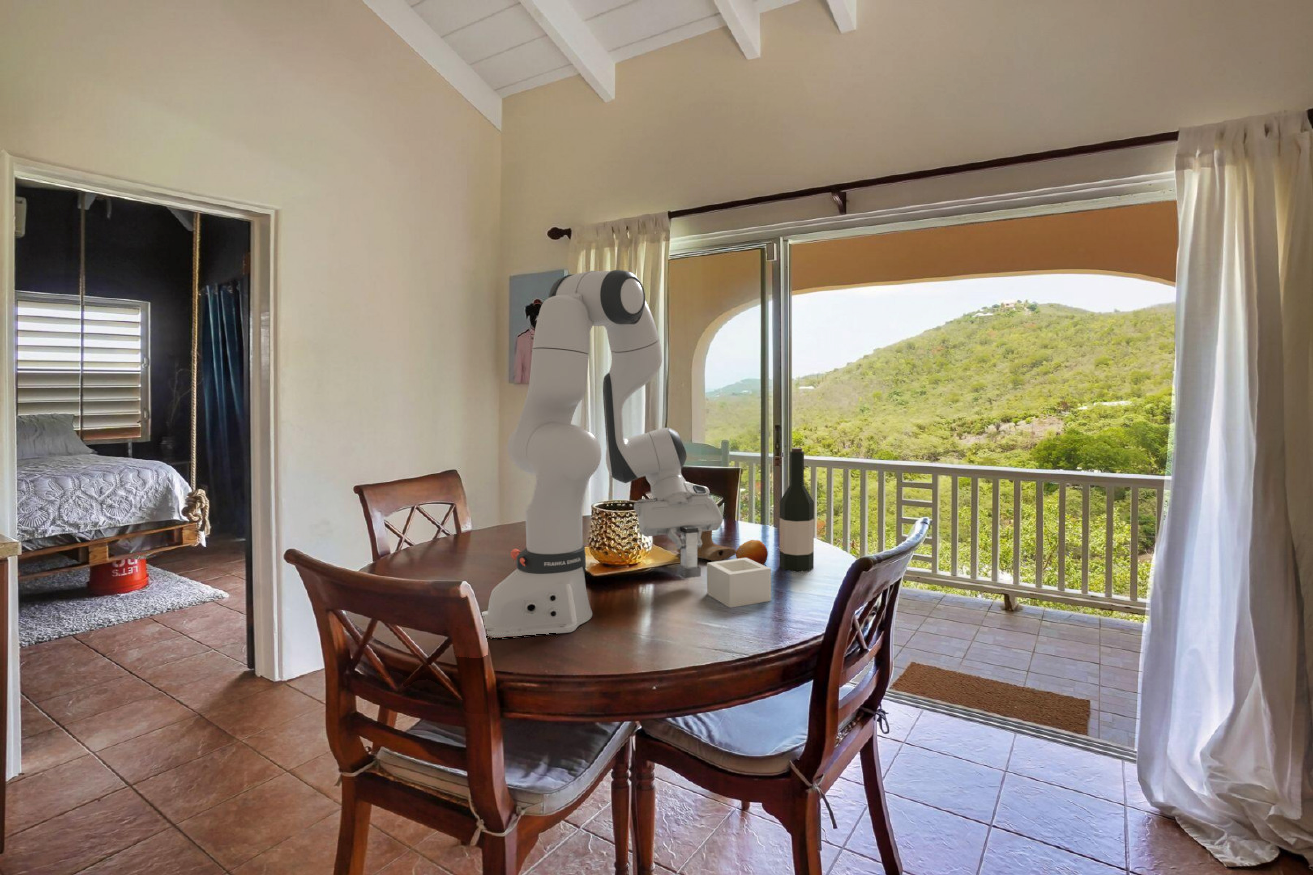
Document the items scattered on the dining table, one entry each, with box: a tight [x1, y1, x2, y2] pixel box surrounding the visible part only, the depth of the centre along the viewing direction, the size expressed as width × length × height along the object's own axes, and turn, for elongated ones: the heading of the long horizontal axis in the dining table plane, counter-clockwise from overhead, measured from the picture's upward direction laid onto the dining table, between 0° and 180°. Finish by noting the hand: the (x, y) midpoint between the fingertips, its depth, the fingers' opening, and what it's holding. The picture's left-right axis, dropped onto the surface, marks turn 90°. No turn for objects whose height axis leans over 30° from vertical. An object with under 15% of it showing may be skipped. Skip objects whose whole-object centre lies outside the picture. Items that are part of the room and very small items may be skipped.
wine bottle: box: [779, 447, 815, 573], centre depth 165 cm, size 8×8×30 cm
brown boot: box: [676, 530, 737, 562], centre depth 176 cm, size 15×12×15 cm
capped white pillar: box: [676, 526, 702, 579], centre depth 150 cm, size 4×4×11 cm
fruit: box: [735, 539, 769, 567], centre depth 167 cm, size 8×8×8 cm
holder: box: [706, 558, 772, 608], centre depth 143 cm, size 10×10×7 cm
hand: (690, 546), depth 150 cm, fingers closed on capped white pillar, 3 cm apart
